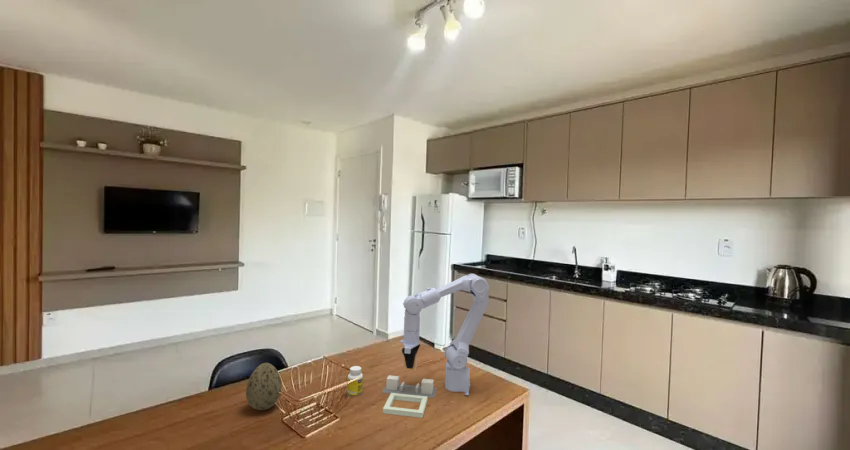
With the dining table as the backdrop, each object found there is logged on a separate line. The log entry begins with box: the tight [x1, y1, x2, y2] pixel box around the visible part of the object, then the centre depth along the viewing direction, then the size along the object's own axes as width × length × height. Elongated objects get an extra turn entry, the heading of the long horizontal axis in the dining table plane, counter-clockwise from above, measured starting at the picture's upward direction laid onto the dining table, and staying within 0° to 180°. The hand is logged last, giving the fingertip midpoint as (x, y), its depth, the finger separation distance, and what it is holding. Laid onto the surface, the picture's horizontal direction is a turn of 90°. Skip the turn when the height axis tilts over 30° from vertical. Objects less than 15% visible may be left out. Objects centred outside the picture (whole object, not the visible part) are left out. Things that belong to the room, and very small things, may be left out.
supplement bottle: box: [346, 365, 364, 397], centre depth 133 cm, size 5×5×10 cm
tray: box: [382, 393, 429, 419], centre depth 124 cm, size 13×11×2 cm
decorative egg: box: [245, 362, 283, 411], centre depth 122 cm, size 11×11×15 cm
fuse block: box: [381, 374, 438, 399], centre depth 136 cm, size 19×8×5 cm, turn 81°
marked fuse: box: [403, 352, 418, 373], centre depth 136 cm, size 4×3×6 cm
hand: (410, 366), depth 136 cm, fingers closed on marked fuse, 3 cm apart
